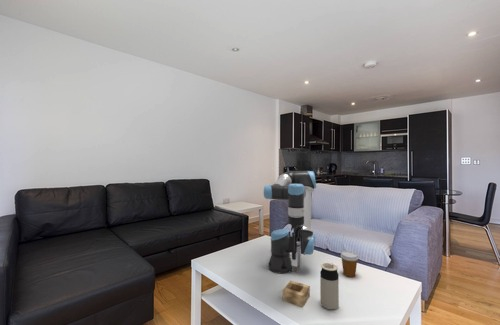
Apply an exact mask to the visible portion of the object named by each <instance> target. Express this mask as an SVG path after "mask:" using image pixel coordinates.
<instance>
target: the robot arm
mask: <svg viewBox="0 0 500 325" xmlns="http://www.w3.org/2000/svg"><path fill="white" fill-rule="evenodd" d="M263 187H264V188H263V197H264V198H265V199H267V200H281V201H288V204H287V205H288V206H287V207H288V208H287V209H288V210H287V215H288V218H287V219H288V224H289V225H290V229H287V228H279V229H275V230H273V231H272V232H271V234H270V257H269V261H268V263H267V264H268V266H267V267H268V269H269V270H270V271H271V272H273V273H276V274H288V273H290V272H293V270H292V266H296V267H297V266H298V261H297V240H299V241H301V255H305V256H306V255H309V256H311V255H313V253H314V250H315V244H316V234H314V231H313V230H312V229H311V224H312V222H311V221H312V220H311V219H312V193H313V192H314V191H315V189H317V182H316V175H315V172H314V171H312V170H311V171H310V170H289V171H286V172H283V173H281V174H280V175H278V177H277V180H275V182H274V183H273V184H272V185H270V184H266V185H264V186H263Z"/></svg>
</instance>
